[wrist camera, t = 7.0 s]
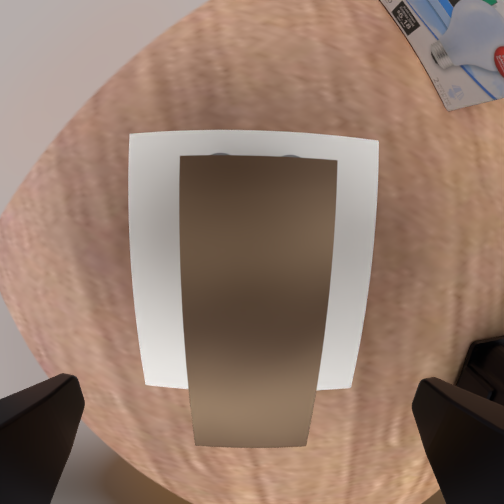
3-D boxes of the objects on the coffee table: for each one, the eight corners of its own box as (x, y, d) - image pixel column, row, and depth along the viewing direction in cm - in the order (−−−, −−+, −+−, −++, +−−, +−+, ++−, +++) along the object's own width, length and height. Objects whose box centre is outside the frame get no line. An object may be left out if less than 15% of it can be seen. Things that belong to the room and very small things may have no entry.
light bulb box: (366, -13, 14) (432, -105, 4) (427, -22, 14) (498, -87, 3) (448, 117, 16) (570, 91, 6) (498, 92, 16) (600, 70, 5)
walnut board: (294, 390, 17) (306, 446, 12) (205, 389, 16) (195, 445, 12) (310, 166, 14) (337, 160, 10) (200, 163, 14) (179, 155, 9)
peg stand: (373, 142, 17) (397, 135, 14) (347, 381, 20) (361, 409, 17) (134, 135, 17) (111, 127, 13) (148, 378, 20) (135, 407, 17)
